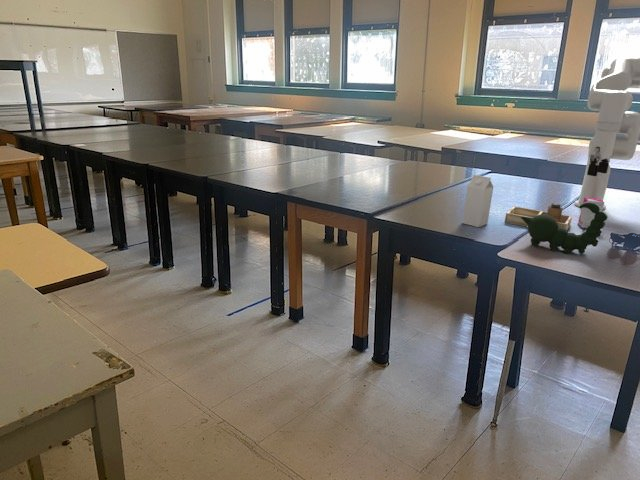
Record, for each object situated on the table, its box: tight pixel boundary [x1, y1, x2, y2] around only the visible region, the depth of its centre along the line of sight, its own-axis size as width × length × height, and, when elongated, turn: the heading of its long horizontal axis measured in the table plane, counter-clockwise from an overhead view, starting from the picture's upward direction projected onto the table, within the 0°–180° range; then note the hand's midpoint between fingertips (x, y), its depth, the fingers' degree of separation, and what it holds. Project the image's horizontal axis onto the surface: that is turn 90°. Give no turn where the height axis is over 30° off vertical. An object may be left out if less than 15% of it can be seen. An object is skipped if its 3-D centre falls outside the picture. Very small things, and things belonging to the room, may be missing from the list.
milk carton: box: [461, 173, 494, 228], centre depth 185 cm, size 7×7×19 cm
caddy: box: [504, 202, 573, 231], centre depth 189 cm, size 13×22×9 cm, turn 56°
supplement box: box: [577, 197, 605, 230], centre depth 186 cm, size 6×6×12 cm
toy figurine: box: [521, 203, 609, 255], centre depth 162 cm, size 9×19×25 cm
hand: (596, 174), depth 179 cm, fingers open, 9 cm apart
